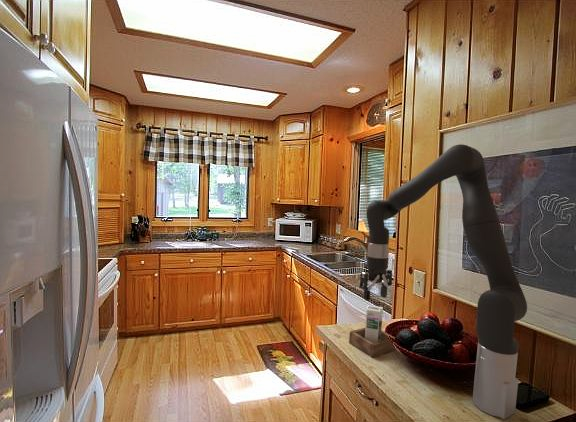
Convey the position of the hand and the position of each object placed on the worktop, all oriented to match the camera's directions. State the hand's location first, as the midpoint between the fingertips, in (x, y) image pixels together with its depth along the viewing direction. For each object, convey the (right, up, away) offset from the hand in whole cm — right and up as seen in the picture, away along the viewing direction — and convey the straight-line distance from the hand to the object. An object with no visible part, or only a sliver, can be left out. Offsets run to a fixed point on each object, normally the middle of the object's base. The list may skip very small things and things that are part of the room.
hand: (375, 298), depth 121 cm
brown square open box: (-1, -18, +1) cm, 18 cm away
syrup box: (-1, -18, +1) cm, 18 cm away
